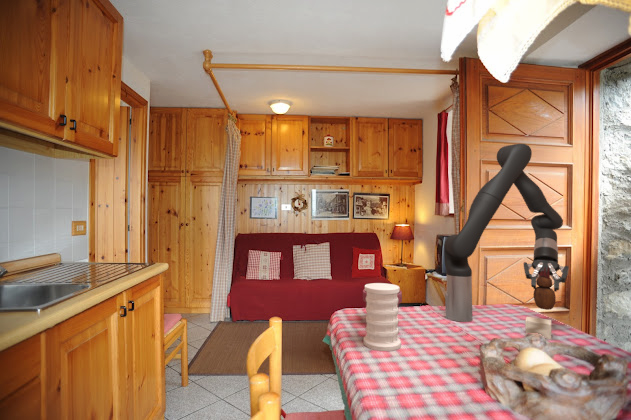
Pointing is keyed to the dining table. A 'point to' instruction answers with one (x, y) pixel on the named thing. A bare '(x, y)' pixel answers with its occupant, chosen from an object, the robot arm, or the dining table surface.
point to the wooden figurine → (544, 291)
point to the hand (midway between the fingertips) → (544, 288)
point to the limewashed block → (538, 326)
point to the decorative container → (382, 317)
